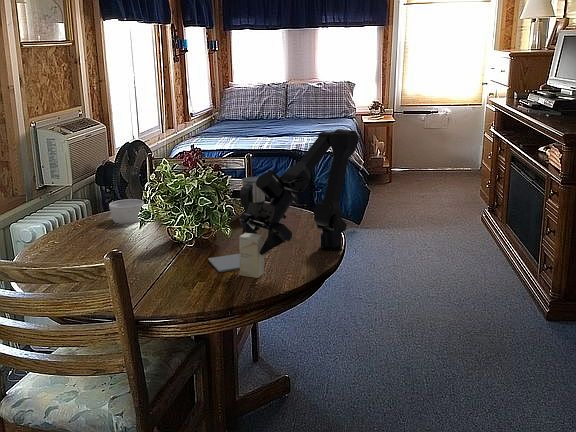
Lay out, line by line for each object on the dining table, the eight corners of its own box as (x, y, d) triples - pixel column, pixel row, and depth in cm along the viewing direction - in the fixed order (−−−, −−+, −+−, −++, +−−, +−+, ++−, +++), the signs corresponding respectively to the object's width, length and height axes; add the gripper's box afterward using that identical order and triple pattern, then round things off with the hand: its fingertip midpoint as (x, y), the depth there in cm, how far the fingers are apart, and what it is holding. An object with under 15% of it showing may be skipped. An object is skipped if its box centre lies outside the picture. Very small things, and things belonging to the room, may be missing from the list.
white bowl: (111, 217, 248) (109, 200, 246) (145, 214, 251) (143, 197, 249) (110, 226, 236) (108, 208, 234) (145, 223, 239) (144, 205, 237)
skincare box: (239, 275, 184) (237, 236, 181) (246, 270, 188) (244, 232, 184) (258, 278, 182) (257, 238, 178) (265, 273, 186) (263, 234, 182)
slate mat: (249, 253, 202) (249, 251, 202) (262, 265, 192) (262, 263, 192) (208, 260, 197) (208, 258, 197) (218, 272, 187) (218, 270, 187)
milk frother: (245, 212, 251) (243, 176, 247) (284, 212, 249) (283, 176, 245) (238, 222, 237) (237, 184, 233) (279, 222, 236) (278, 184, 232)
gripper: (242, 186, 188) (214, 229, 184) (284, 197, 175) (255, 243, 170) (263, 207, 195) (236, 248, 191) (304, 218, 182) (277, 263, 178)
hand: (250, 250), depth 182 cm, fingers open, 9 cm apart
